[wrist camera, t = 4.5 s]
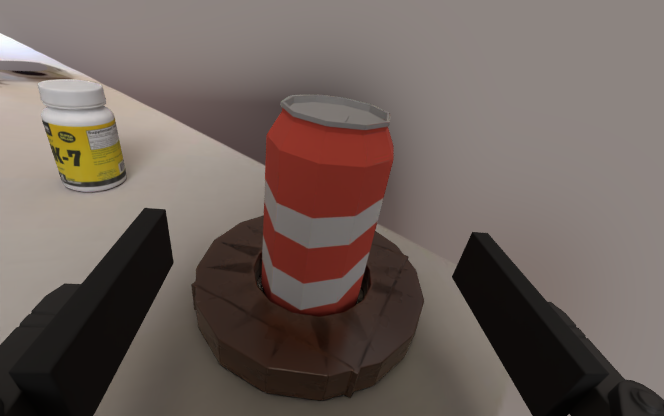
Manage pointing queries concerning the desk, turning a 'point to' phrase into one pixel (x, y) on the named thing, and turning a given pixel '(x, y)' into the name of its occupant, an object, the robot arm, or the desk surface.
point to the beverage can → (322, 201)
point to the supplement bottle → (82, 134)
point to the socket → (304, 321)
